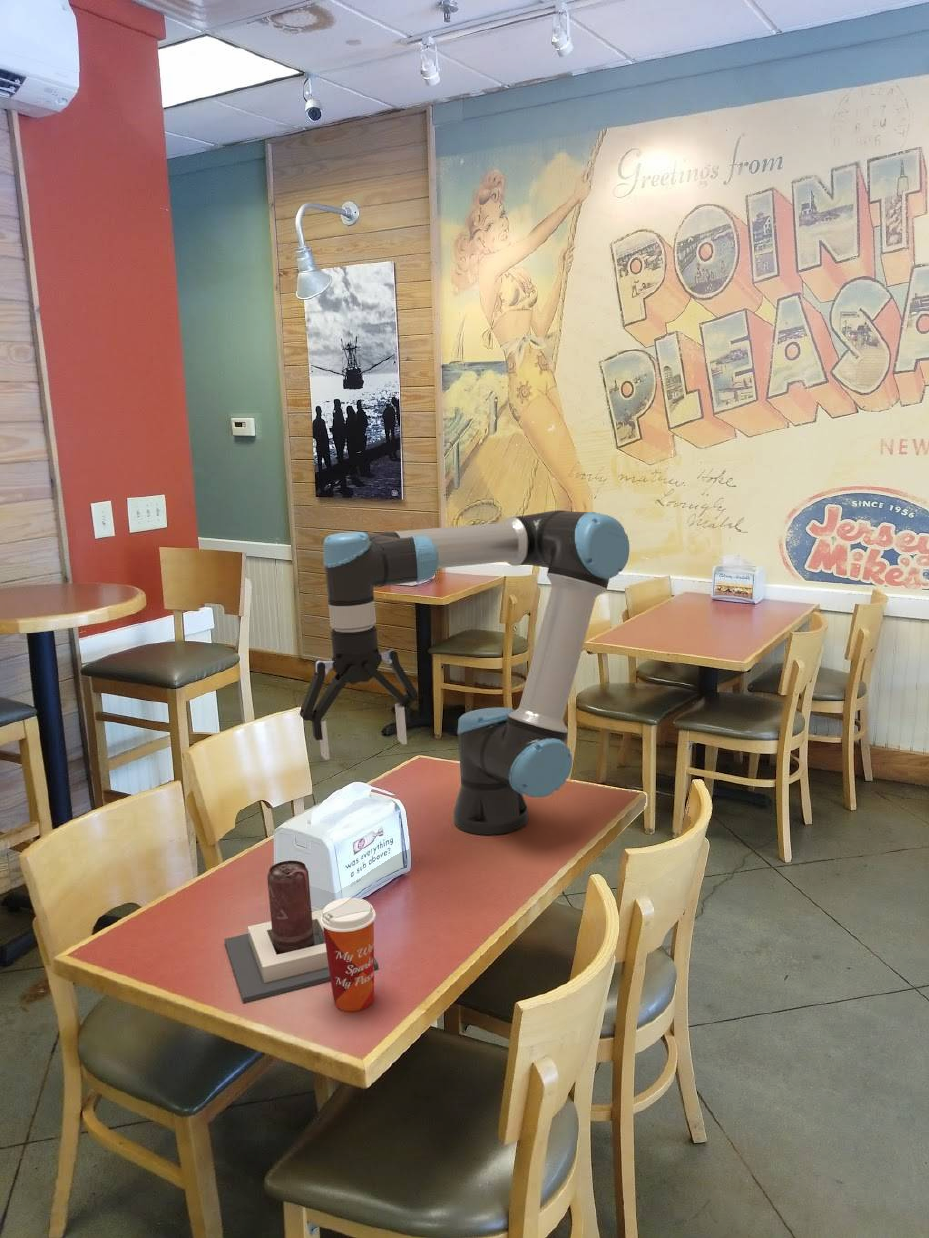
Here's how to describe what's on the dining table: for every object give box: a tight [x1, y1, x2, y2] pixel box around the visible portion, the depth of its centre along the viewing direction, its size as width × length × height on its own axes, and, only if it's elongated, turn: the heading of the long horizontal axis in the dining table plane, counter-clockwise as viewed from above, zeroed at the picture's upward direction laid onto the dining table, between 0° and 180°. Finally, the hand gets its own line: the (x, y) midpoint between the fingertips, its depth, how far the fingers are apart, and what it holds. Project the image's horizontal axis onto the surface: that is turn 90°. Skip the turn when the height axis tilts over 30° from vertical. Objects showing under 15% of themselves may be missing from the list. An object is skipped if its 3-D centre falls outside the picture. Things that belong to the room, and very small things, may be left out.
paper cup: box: [320, 897, 377, 1013], centre depth 135 cm, size 8×8×14 cm
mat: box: [223, 933, 379, 1004], centre depth 149 cm, size 20×18×1 cm
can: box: [266, 860, 314, 955], centre depth 147 cm, size 6×6×14 cm
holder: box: [247, 908, 329, 983], centre depth 148 cm, size 13×13×2 cm
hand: (364, 749), depth 164 cm, fingers open, 13 cm apart
